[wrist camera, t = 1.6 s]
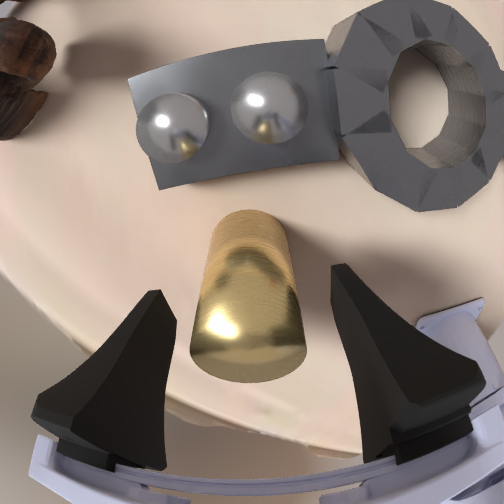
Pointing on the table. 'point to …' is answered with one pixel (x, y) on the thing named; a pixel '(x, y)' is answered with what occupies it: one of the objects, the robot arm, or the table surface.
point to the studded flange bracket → (330, 107)
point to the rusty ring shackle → (22, 72)
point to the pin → (248, 303)
